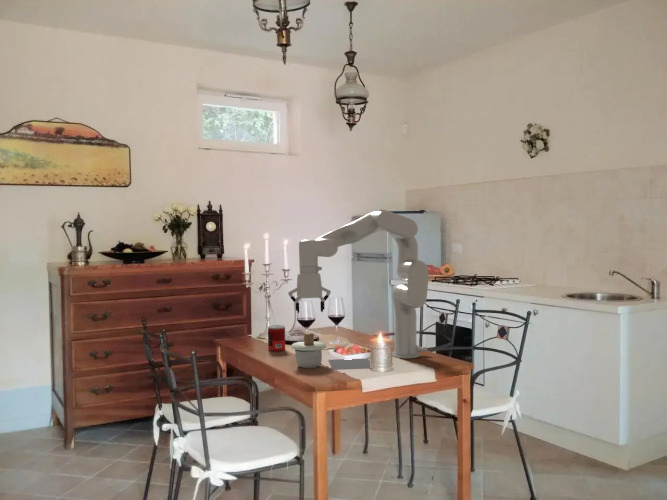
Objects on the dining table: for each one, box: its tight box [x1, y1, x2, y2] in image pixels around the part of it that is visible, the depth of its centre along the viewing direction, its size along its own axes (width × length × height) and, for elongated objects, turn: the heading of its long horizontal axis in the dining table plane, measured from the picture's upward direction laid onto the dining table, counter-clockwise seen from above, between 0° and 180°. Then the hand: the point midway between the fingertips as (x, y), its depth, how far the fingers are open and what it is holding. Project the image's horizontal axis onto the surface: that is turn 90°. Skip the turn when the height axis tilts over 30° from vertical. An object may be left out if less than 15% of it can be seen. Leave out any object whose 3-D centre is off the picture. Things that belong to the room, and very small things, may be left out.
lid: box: [291, 332, 327, 351], centre depth 241 cm, size 14×14×6 cm
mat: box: [327, 357, 371, 371], centre depth 244 cm, size 17×17×1 cm
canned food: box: [267, 324, 286, 353], centre depth 273 cm, size 8×8×11 cm
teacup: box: [294, 349, 323, 369], centre depth 242 cm, size 14×11×8 cm
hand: (310, 311), depth 241 cm, fingers open, 9 cm apart
